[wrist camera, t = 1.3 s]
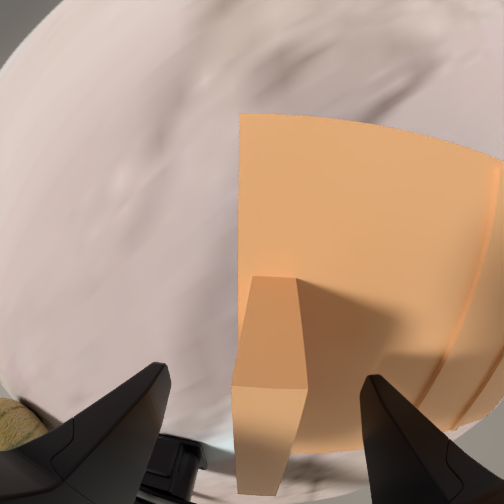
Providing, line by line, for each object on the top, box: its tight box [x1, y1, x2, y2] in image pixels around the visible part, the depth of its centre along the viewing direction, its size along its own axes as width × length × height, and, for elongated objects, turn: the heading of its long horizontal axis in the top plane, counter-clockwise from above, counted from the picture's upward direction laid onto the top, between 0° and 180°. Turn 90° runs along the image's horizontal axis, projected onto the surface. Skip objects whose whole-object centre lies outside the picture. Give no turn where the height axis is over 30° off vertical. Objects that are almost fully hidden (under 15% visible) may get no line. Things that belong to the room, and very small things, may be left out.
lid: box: [231, 114, 504, 496], centre depth 7 cm, size 15×17×5 cm
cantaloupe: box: [0, 398, 48, 451], centre depth 20 cm, size 15×15×15 cm
